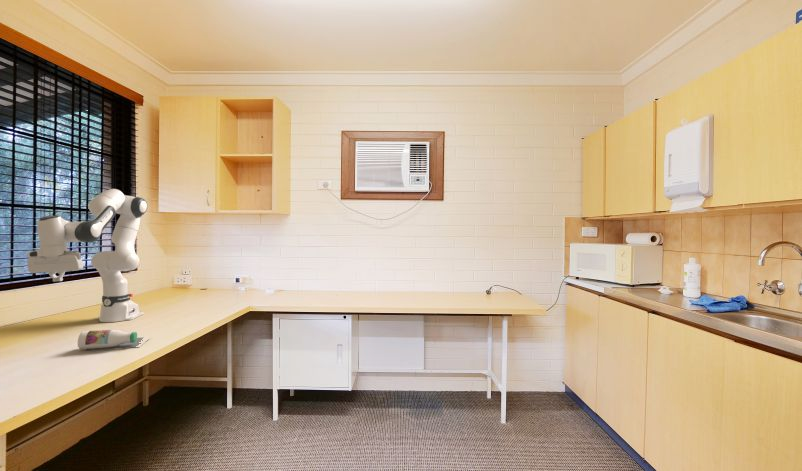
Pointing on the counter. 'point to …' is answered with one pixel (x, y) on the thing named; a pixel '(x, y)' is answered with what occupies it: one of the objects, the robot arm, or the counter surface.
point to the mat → (123, 345)
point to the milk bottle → (104, 338)
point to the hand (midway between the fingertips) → (58, 281)
